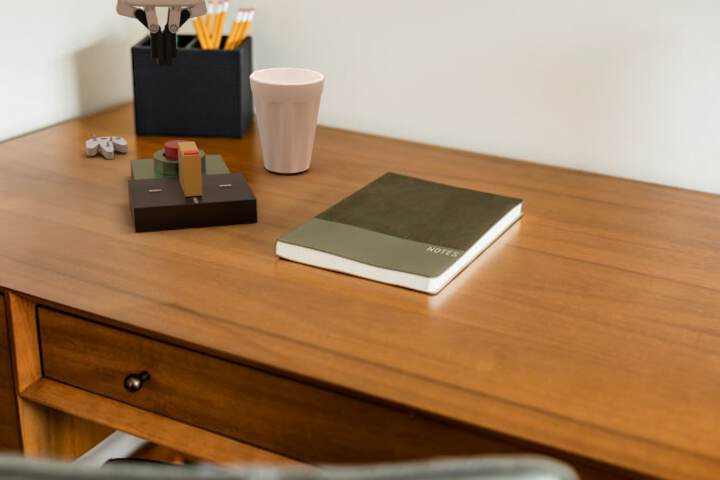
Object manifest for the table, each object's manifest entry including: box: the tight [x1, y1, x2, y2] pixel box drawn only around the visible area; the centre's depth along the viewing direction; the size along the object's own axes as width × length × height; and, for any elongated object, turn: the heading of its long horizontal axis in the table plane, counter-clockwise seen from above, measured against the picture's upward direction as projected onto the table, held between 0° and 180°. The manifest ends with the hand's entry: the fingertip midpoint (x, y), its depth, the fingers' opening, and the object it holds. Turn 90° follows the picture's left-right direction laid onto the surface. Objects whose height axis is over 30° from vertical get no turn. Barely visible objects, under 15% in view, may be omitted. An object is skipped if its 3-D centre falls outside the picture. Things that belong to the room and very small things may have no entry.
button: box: [164, 139, 191, 159], centre depth 116 cm, size 4×4×2 cm
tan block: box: [178, 141, 202, 197], centre depth 106 cm, size 6×2×5 cm, turn 17°
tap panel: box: [127, 172, 258, 233], centre depth 108 cm, size 14×10×3 cm
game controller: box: [85, 133, 129, 160], centre depth 130 cm, size 6×12×3 cm, turn 45°
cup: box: [249, 67, 326, 174], centre depth 122 cm, size 10×10×13 cm
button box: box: [129, 148, 231, 180], centre depth 117 cm, size 12×9×4 cm
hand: (164, 63), depth 111 cm, fingers closed
